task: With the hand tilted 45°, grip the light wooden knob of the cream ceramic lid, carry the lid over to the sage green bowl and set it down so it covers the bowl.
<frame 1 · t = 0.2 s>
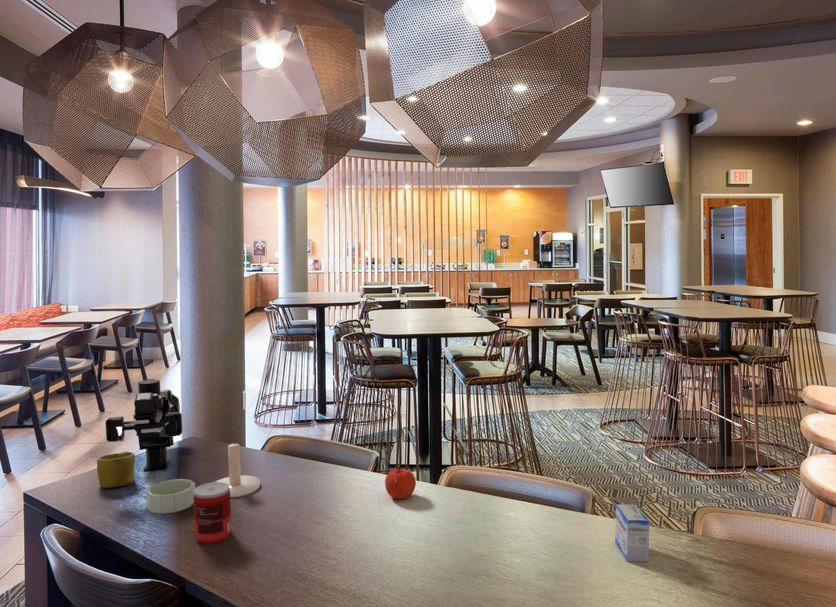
hand: (139, 436, 150), 17 cm above the table, fingers open, 9 cm apart
apple: (400, 497, 151), on the table
mug: (119, 482, 164), on the table
bowl: (171, 504, 147), on the table
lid: (235, 488, 158), on the table
medicine box: (631, 553, 120), on the table
canned food: (213, 537, 130), on the table
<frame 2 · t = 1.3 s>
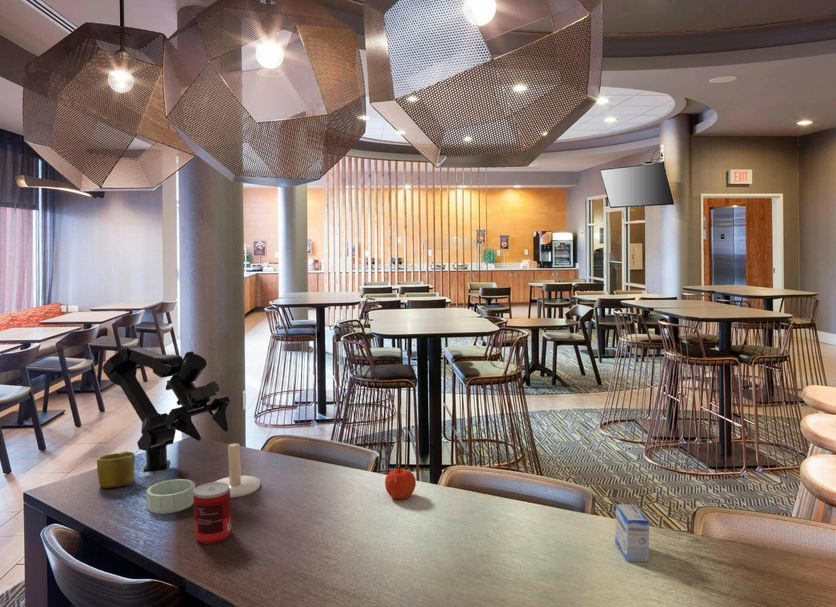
hand: (213, 435, 161), 13 cm above the table, fingers open, 9 cm apart
nothing on the table moved.
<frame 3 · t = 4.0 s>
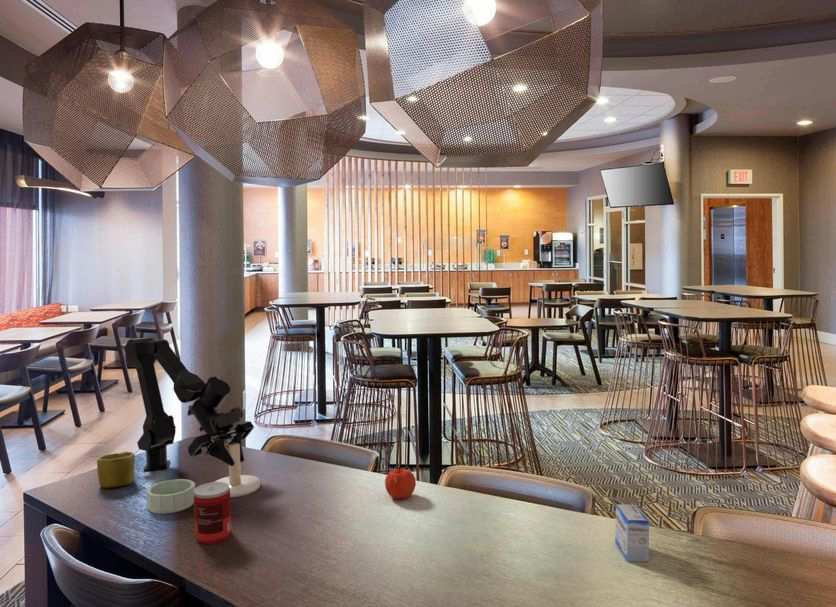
hand: (238, 463, 157), 7 cm above the table, fingers closed on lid, 3 cm apart
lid: (235, 488, 158), on the table, touching gripper
everything else where it was.
when the fingers open (12 cm above the table, at t = 7.4 s): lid stays where it is, resting on bowl.
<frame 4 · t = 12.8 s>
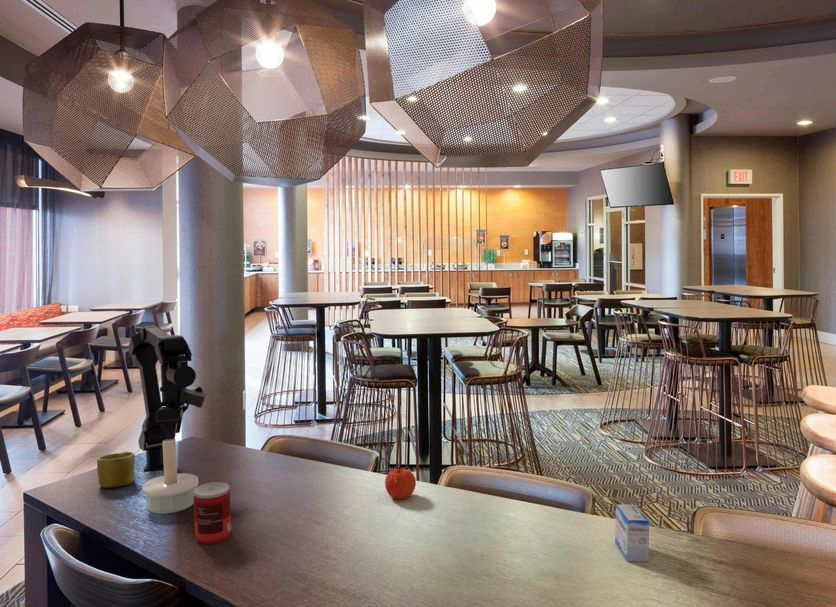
hand: (175, 437, 161), 13 cm above the table, fingers open, 9 cm apart
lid: (171, 487, 147), point 4 cm above the table, touching bowl
everything else where it was.
at the end: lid 0.1 cm from the bowl (horizontally); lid point 4.5 cm above the table; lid tilted 0° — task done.
